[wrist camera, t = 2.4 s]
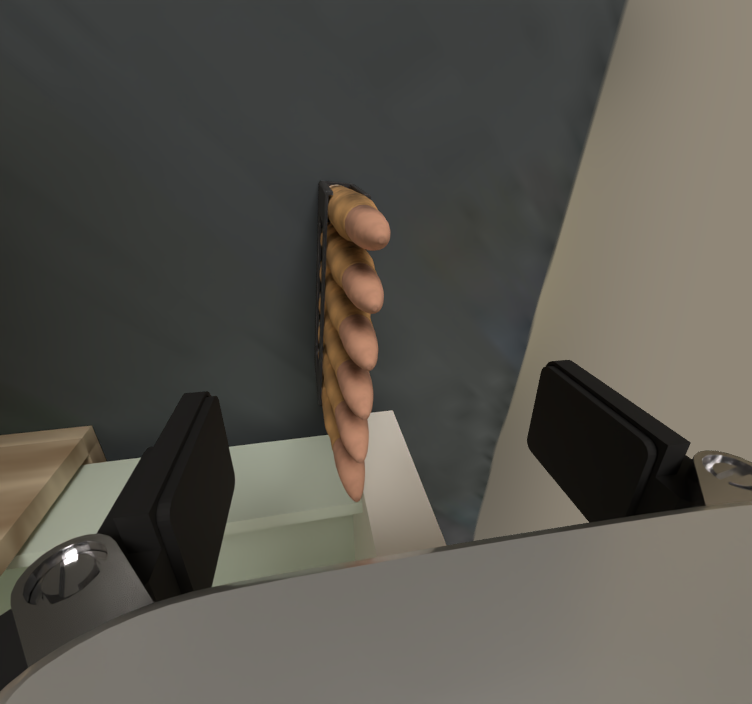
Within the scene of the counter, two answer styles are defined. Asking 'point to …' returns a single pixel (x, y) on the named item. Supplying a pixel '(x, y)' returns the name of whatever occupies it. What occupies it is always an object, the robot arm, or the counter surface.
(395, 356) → the counter surface
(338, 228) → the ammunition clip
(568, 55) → the counter surface
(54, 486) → the cabinet
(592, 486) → the robot arm
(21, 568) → the drawer
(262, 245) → the counter surface
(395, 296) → the counter surface
